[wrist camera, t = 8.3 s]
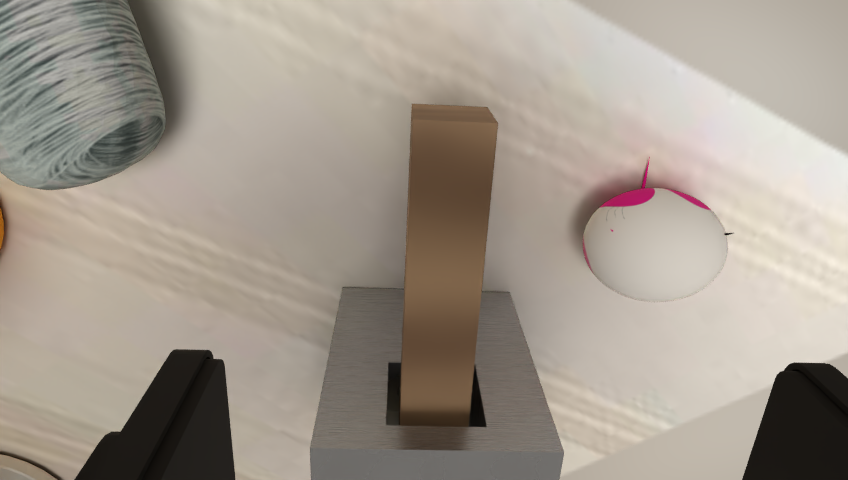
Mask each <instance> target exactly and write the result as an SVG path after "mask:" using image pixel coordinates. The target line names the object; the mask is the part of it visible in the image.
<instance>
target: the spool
mask: <svg viewBox="0 0 848 480" xmlns="http://www.w3.org/2000/svg"><path fill="white" fill-rule="evenodd" d="M165 124H166V120H165V109H164V101H163V97H162V94H161V91H160V89H159V86H158V83H157V80H156V76H155V73H154V70H153V67H152V65H151V62H150V59H149V57H148V54H147V52H146V49H145V47H144V44H143V41H142V38H141V35H140V32H139V29H138V27H137V24H136V22H135V19H134V17H133V14H132V12H131V9H130V6H129V4H128V1H127V0H0V172H1V173H2V174H3V175H5V176H6V177H7V178H9V179H10V180H12V181H13V182H15V183H17V184H19V185H23V186H27V187H31V188H37V189H44V190H57V189H66V188H72V187H77V186H82V185H87V184H91V183H94V182H98V181H100V180H103V179H105V178H107V177H110V176H112V175H115V174H118V173H120V172H122V171H123V170H125V169H126V168H128V167H129V166H131V165H133V164H134V163H136V162H138V161H140V160H142V159H143V158H144V157H145V156H146V155H147V154H149V153H150V152H151V151H152V150H153V149H154V148H155V147H156V145H157V144H158V143H159V140H160V138H161V136H162V134H163V132H164V130H165Z"/></svg>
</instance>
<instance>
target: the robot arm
mask: <svg viewBox="0 0 848 480" xmlns="http://www.w3.org/2000/svg"><path fill="white" fill-rule="evenodd" d="M0 480H57V479H56V478H54V477H53V476H51V475H50V474H48V473H47V472H45V471H44V470H42V469H40V468H38V467H36V466H34V465H32V464H30V463H28V462H25V461H22V460H19V459H16V458H13V457H10V456H6V455H1V454H0ZM75 480H235V472H234V461H233V450H232V440H231V429H230V418H229V407H228V396H227V386H226V375H225V366H224V362H223V360H222V359H213V355H212V352H211V351H210V350H179V349H176V350H173V351H172V352H171V353H170V354H169V356H168V358H167V359H166V361H165V362H164V364H163V366H162V367H161V369H160V370H159V372H158V373H157V375H156V377H155V378H154V380H153V381H152V383H151V385H150V386H149V388H148V389H147V391H146V393H145V394H144V396H143V397H142V399H141V400H140V402H139V404H138V405H137V407H136V408H135V410H134V412H133V413H132V415H131V416H130V418H129V420H128V421H127V423H126V424H125V426H124V427H123V429H122V431H121V432H110V433H108V434H107V435H105V436H104V437H103V439H102V440H101V441H100V442H99V444H98V445H97V447H96V448H95V450H94V451H93V453H92V454H91V456H90V457H89V459H88V460H87V462H86V463H85V465H84V466H83V468H82V469H81V471H80V472H79V474H78V475H77V477H76V478H75ZM742 480H848V378H847V377H846V376H844V375H843V374H842V373H841V372H840V371H839V370H837V369H836V368H835V367H833V366H832V365H830V364H826V363H792V364H789V365H788V366H787V367H786V368H785V370H784V371H782V372H780V373H779V374H777V376H776V378H775V381H774V384H773V387H772V390H771V393H770V396H769V399H768V403H767V405H766V409H765V412H764V415H763V418H762V421H761V424H760V427H759V430H758V433H757V436H756V440H755V442H754V446H753V448H752V451H751V454H750V457H749V461H748V464H747V467H746V470H745V473H744V476H743V479H742Z"/></svg>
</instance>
